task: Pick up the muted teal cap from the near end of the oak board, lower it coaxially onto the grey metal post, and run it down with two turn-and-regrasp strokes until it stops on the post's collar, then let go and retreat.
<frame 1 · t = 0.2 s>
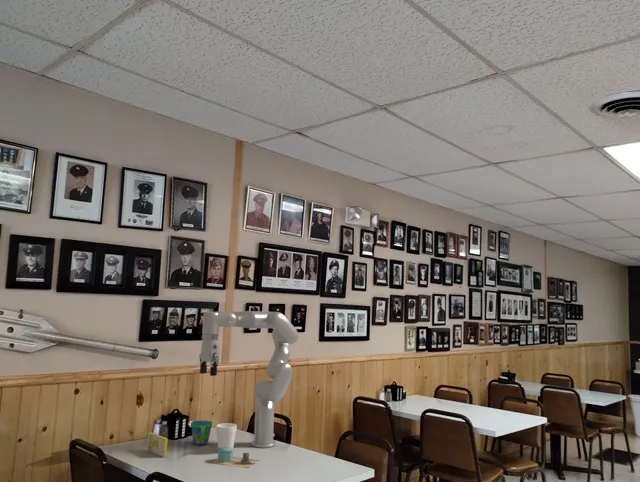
hand: (208, 374, 248), 37 cm above the table, tool pointing down, fingers open, 9 cm apart
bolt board: (235, 465, 230), on the table
cap: (225, 460, 231), point 1 cm above the table, touching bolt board
candy box: (156, 454, 245), on the table
snack cup: (200, 444, 264), on the table
foam cup: (225, 454, 247), on the table
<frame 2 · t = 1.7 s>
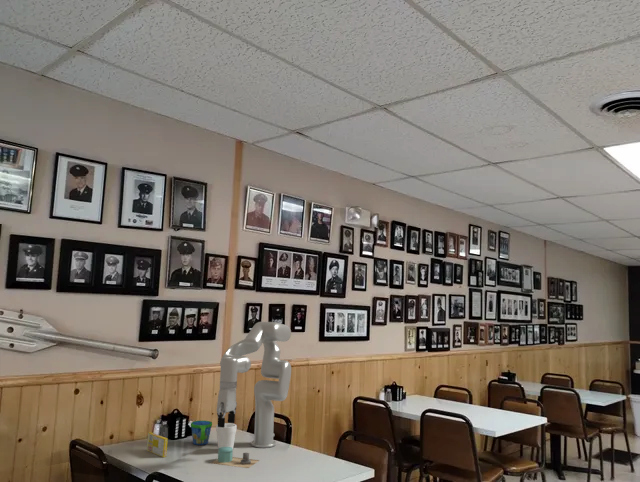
hand: (226, 424, 233), 17 cm above the table, tool pointing down, fingers open, 9 cm apart
nothing on the table moved.
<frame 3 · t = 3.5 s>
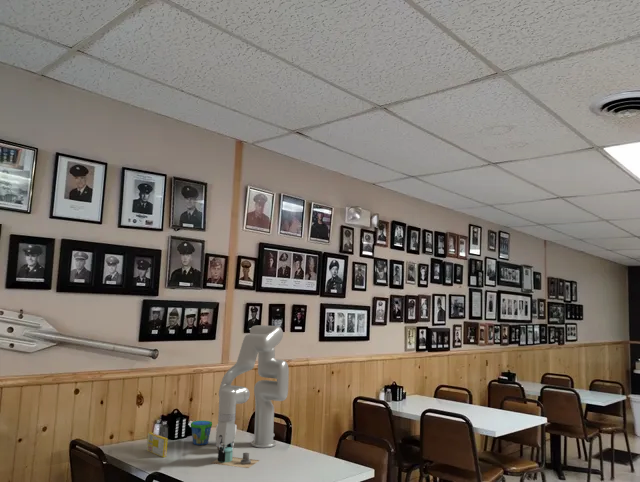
hand: (225, 458, 231), 2 cm above the table, tool pointing down, fingers closed on cap, 6 cm apart
cap: (225, 460, 231), point 1 cm above the table, touching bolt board, gripper
everything else where it was.
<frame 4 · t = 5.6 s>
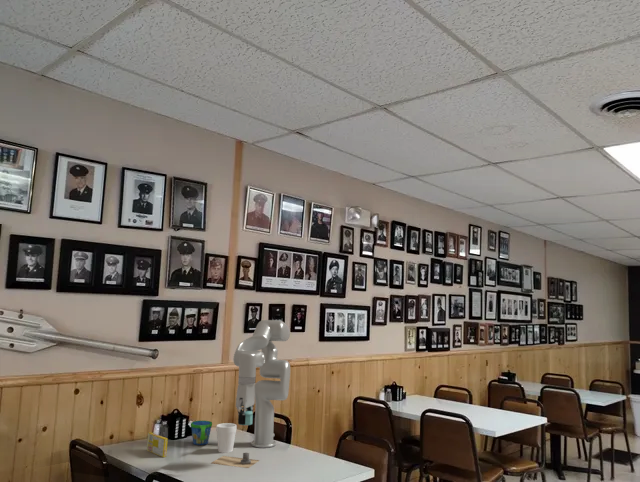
hand: (245, 422, 231), 19 cm above the table, tool pointing down, fingers closed on cap, 6 cm apart
cap: (245, 423, 231), point 18 cm above the table, touching gripper
everything else where it was.
when the fingers open (4 cm above the table, at t = 8.1 s): cap drops 1 cm, resting on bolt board.
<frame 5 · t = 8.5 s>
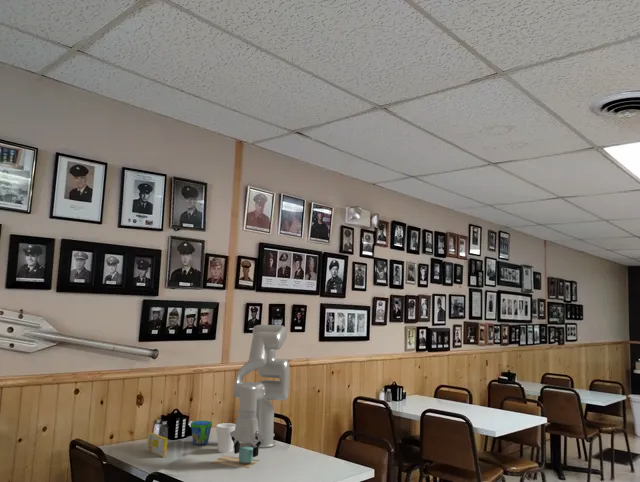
hand: (246, 454, 229), 5 cm above the table, tool pointing down, fingers open, 9 cm apart
cap: (245, 460, 229), point 2 cm above the table, touching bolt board
everything else where it was.
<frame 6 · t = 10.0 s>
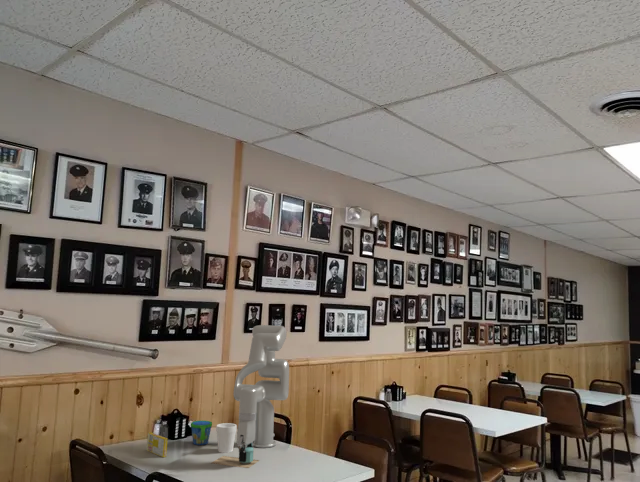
hand: (245, 458, 229), 3 cm above the table, tool pointing down, fingers closed on cap, 6 cm apart
cap: (245, 460, 229), point 3 cm above the table, touching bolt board, gripper
everything else where it was.
when the fingers open (3 cm above the table, at t = 11.3 s): cap stays where it is, resting on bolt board.
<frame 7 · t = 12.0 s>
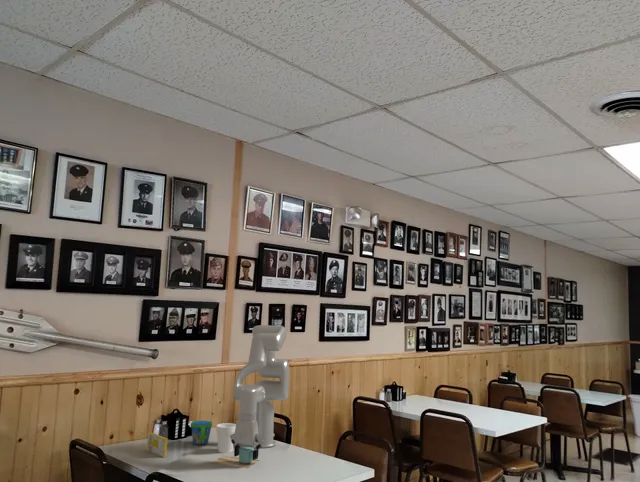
hand: (245, 457, 229), 4 cm above the table, tool pointing down, fingers open, 9 cm apart
cap: (245, 460, 229), point 2 cm above the table, touching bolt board
everything else where it was.
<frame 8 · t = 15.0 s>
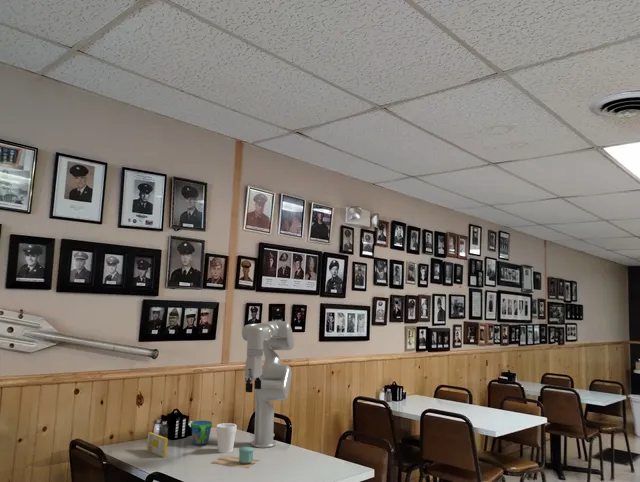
hand: (253, 390, 244), 30 cm above the table, tool pointing down, fingers open, 9 cm apart
nothing on the table moved.
at the end: cap 0.0 cm from the target spot on the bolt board, point 2.5 cm above the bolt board's base; cap tilted 0°; the gripper is holding nothing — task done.
